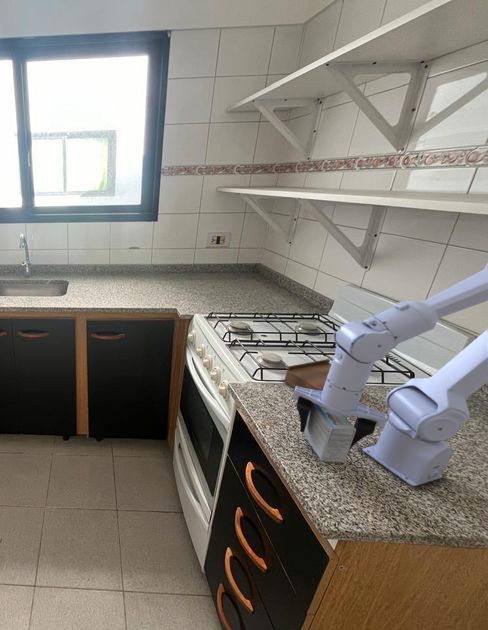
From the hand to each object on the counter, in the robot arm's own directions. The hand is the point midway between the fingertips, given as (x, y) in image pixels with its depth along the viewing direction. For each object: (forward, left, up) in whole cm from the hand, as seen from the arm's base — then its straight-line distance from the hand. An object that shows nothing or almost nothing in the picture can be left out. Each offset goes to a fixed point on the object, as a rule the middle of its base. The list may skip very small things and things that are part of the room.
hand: (324, 437), depth 71 cm
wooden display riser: (+18, -21, -4) cm, 28 cm away
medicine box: (0, 0, -3) cm, 3 cm away
